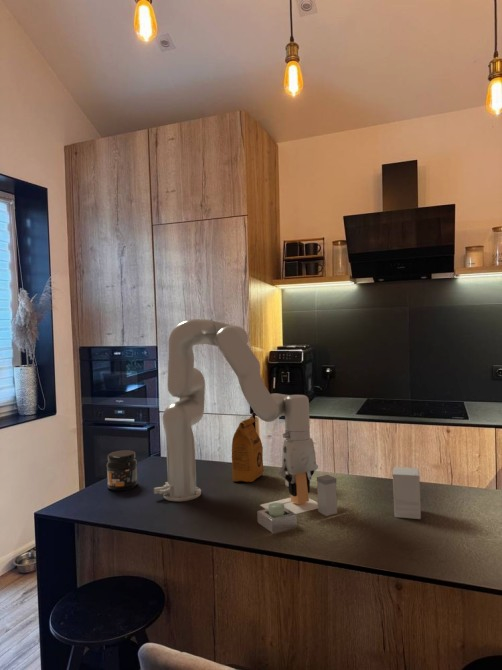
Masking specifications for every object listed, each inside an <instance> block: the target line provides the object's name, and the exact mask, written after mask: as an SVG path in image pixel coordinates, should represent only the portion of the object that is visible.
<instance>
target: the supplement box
mask: <svg viewBox="0 0 502 670" xmlns="http://www.w3.org/2000/svg"><path fill="white" fill-rule="evenodd" d="M420 479H421V477H420V471H419V468H417V467H402V466H401V467H400V466H394V467H393V470H392V489H393V491H392V492H393V508H394V510H393V513H394V518H402V519H413V520H414V519H415V520H421V518H422V513H421V512H422V506H421V505H422V503H421V485H420V484H421V483H420V482H421V480H420Z"/></svg>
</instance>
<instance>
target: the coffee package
mask: <svg viewBox="0 0 502 670" xmlns="http://www.w3.org/2000/svg"><path fill="white" fill-rule="evenodd" d="M255 422H256V419H255V418H254V417H253V416H252V417H250V418H247V419H244V420H242V421H241V422H239V424H238V426H237V428H236V430H235V432H234V434H233V437H232V441H231V468H232V481H233V482H245V483H251V482H254V481H255V480H257V479H258V478H260V477H261V476H262V475H263V474H264V459H263V458H264V457H263V456H264V454H263V453H264V450H263V449H264V448H263V443H262V440H261V438H260V436H259V434H258V432H257V431H256V427H255V426H254V424H253V423H255Z"/></svg>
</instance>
